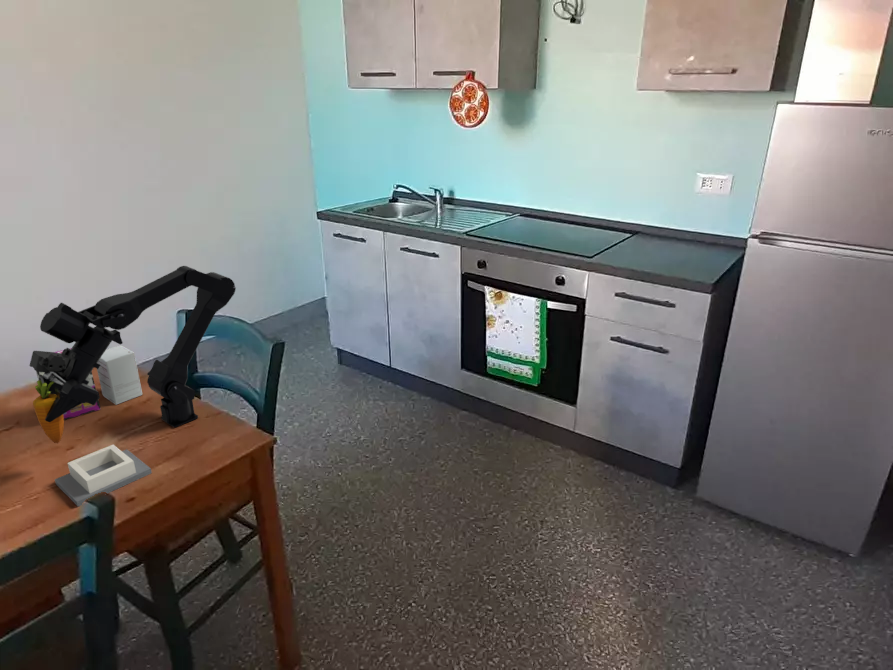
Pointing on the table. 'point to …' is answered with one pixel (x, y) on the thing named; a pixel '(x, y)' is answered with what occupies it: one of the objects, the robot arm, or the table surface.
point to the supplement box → (119, 375)
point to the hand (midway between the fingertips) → (42, 417)
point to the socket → (101, 473)
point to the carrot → (42, 408)
